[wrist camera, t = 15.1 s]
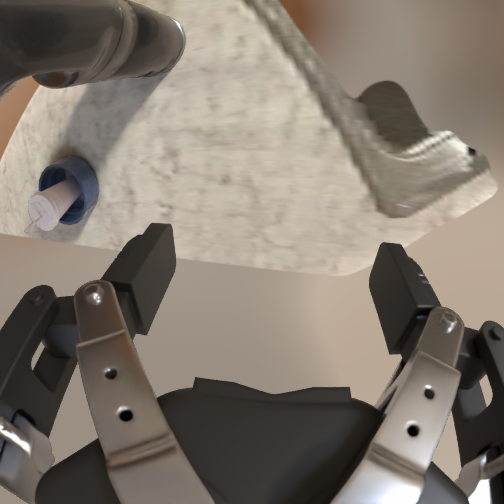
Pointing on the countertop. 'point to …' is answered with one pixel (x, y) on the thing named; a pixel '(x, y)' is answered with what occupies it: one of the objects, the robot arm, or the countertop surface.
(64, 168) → the bowl
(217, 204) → the countertop surface
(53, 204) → the smoothie
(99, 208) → the countertop surface
